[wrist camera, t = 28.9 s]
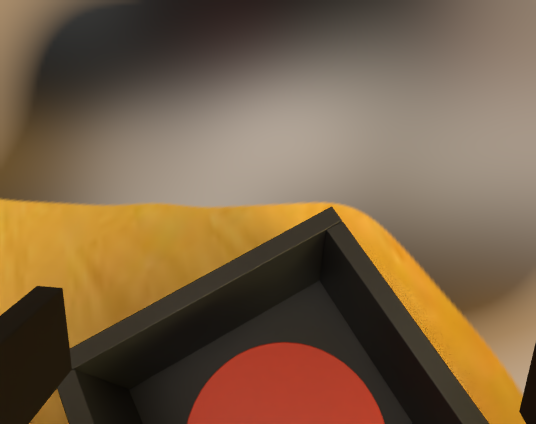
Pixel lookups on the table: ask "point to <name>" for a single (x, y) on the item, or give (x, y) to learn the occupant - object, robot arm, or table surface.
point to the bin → (267, 335)
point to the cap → (285, 389)
